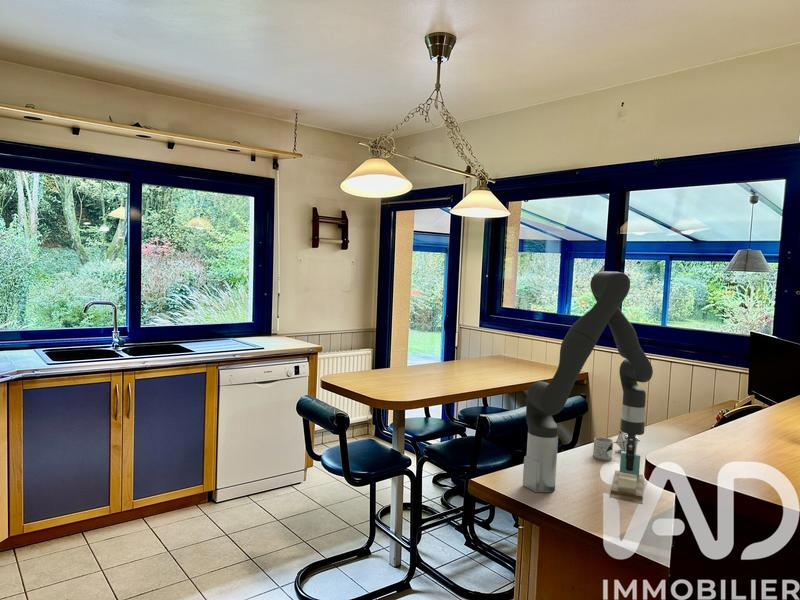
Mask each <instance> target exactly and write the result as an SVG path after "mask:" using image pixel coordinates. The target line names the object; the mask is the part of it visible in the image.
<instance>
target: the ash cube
mask: <svg viewBox="0 0 800 600" xmlns="http://www.w3.org/2000/svg"><path fill="white" fill-rule="evenodd" d="M636 484H637V475H632V474H627V473H621V472H620V473H619V480H618V491H621V492H626V493H631V494H636Z"/></svg>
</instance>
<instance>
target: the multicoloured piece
mask: <svg viewBox="0 0 800 600" xmlns="http://www.w3.org/2000/svg"><path fill="white" fill-rule="evenodd" d="M628 455H630V456H633V455H632V454H628ZM634 457H635V459H634V463H633V471H629V470H626V452H624V451H623V450H621V451H620V460H619V461H620V463H619V470H617V469H614V470H615V471H614V474H613V479H612V484H611V487H610V488H611V489H610V491H609V498H611V499H614V500H615V499H616V500H619V501H620V500H621V501H625V502H629V503H630V502H631V503H635V504H640V505H643V504H644V503H643V501H644V485H645V484H644V481H645V480H644V479H645V476H644V477H643V474H640V466H641V453H637V452H636V453H635V454H634ZM620 472H621V473H627V474H632V475H637V484H636V494H631V493H626V492H621V491H618V480H619V473H620Z"/></svg>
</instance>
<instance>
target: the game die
mask: <svg viewBox="0 0 800 600" xmlns="http://www.w3.org/2000/svg"><path fill="white" fill-rule="evenodd" d="M618 432H619V435H617V439H616V440H615V441H613V444H616V445H617V446H618V447H619V448H620V450H621V451H624V452H625V436H628V434H627V433H624V432H622V431H621V430H619V431H618ZM639 442H641V440H639V439H638V443H639Z"/></svg>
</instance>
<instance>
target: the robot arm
mask: <svg viewBox="0 0 800 600" xmlns="http://www.w3.org/2000/svg"><path fill="white" fill-rule="evenodd" d="M589 285H590V290H591V294H592V295H593V298H594V300H595V301H596V302H595V304H593V305H594V306H593V307H591V309H590V310H588V311H587V312H585V314H583V315H582V316H581V317H579V318H578V319H577V320H576V321H575V322H574V323H572V325H571V326H570V328H569V329H568V331H567V333H566V335H565V336H564V338H563V340H562V341H561V345H560V349H559V362H558V366H557V369H556V371H555V373H554V374H553V377H552V379H551V381H550V382H545V381H540V380H539V381H535V382H533V383H532V384H531V385H530V386H529V388H528V389H527V393H526V399H525V400H526V401H525V402H526V403H525V404H526V405H525V413H526V414H525V417H526V418H525V419H526V421H525V422H526V424H527V442H526V455H525V456H524V458H523V470H522V471H523V474H522V486H523V487H525V488H527V489H529V490H530V491H532V492H534V493H552V492H554V491H555V490H556V478H557V460H558V443H559V426H558V424H557V423H556V421H555V420H554V417H553V416H556V415H558V414H559V413H561V411H563V409H564V407H565V406H566V404H567V401H568V399H569V397H570V395H571V392H572V389H573V387H574V385H575V383H576V381H577V378H578V376H579V375H580V373H581V371H582V369H583V368H584V366H585V364H586V362H587V360H588V358H589V357H590V355H591V354H592V352H593V350H594V348H595V347H596V345H597V343H598V341H599V339H600V337H601V335H602V333H604V331H605V329H606V328H607V325H608V327H609V329H610V331H611V334H612V337H613V340H614V344H615V346H616V349H617V352H618V354H619V355H620V357H622V358H624V360H623V361H622V362H621V363H620V366H619V378H620V379H619V380H620V383H621V388H622V391H623V392H622V405H621V410H620V412H621V413H620V424H619V431H621V433H627V434H628V436H625V452H626V470H629V471H633V463H634V459H635V457H634V454H635V453H636V454H637V447H638V443H639V441H638V440H639V438H638V437H637V436H643V435H644V434H645V425H646V402H647V401H646V400H647V399H646V398H647V397H646V396H647V394H646V391H645V389H643V388H642V387H640V386H639V384H638V383H648V382H649V381H651V379H652V377H653V375H654V373H653V370H654V369H653V366H652V363H651V361H650V359H649V358H648V357H647V355H646V354H645V352H644V350H643V349H642V347H641V345H640V342H639V338H638V336H637V331H636V329H635V327H634V326H633V324H632V323H631V322H630V321H629V319H628V317H626V315H625V314H624V312H622V310H621V308H620V306H621V304H622V303H623V302H624V300H625V299H626V297H627V295H628V294H629V292H630V289H631V280H630V277H629V275H627V274H626V273H624V272H619V271H598V272H596V273H594V275H592V277H591V280H590V284H589ZM628 454H632V455H633V456H630V455H628Z"/></svg>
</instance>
